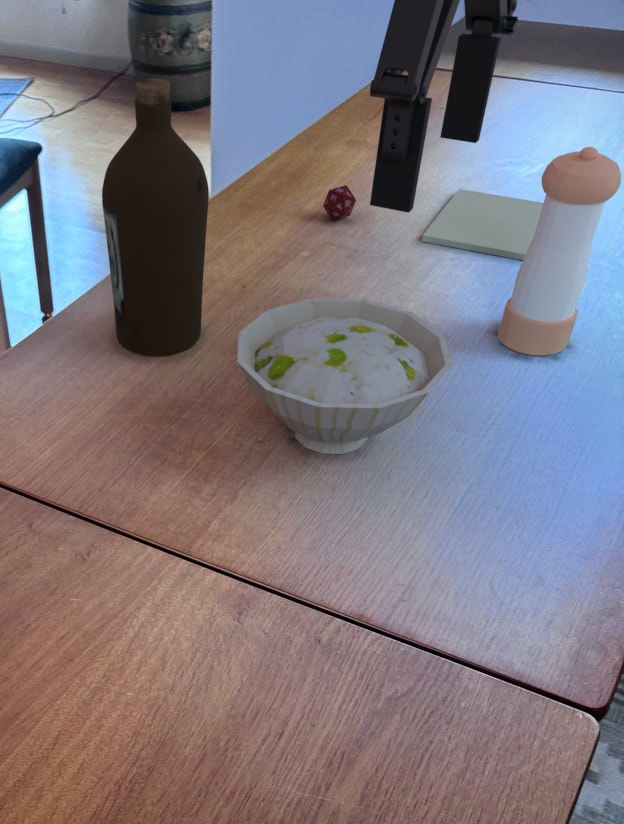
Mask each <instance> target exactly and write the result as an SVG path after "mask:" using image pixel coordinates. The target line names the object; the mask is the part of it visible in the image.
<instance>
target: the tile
mask: <svg viewBox="0 0 624 824" xmlns="http://www.w3.org/2000/svg"><path fill="white" fill-rule="evenodd" d="M543 203H544V202H542V201H535V200H529V199H522V198H517V197H512V196H511V197H510V196H505V195H498V194H493V193H486V192H481V191H474V190H468V189H462V188H459V189H458V190H457V191H456V192H455V194H454V195H452V197H451V198H450V200H449V201H448V202H447V203H446V205H445V206H444V207H443V208H442V210H441V211H440V212H439V214H438V215H437V217H436V218H435V219H434V220H433V221H432V223H431V224H430V225H429V227H427V229H426V231H425V232H423V234H422V238H421V242H422V243H423V242H424V243H430V244H434V245H439V246H445V247H450V248H455V249H461V250H464V251H465V250H466V251H471V252H477V253H482V254H487V255H493V256H498V257H503V258H508V259H514V260H517V261H519V260H520V261H523V259H524V257H525V255H526V253H527V250H528V248H529V246H530V244H531V241H532V239H533V237H534V234H535V231H536V228H537V224H538V221H539V217H540V214H541V210H542V207H543Z"/></svg>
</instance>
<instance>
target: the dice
mask: <svg viewBox="0 0 624 824" xmlns="http://www.w3.org/2000/svg"><path fill="white" fill-rule="evenodd" d="M356 202H357V198H356V197H355V196H354V195H353V193H352V191H351V189H350V188H349V186H348V185H347V184H345V185H341V186H338V187H335V188H332V189H329V190H328V192H327V195H326V197H325V199H324V202H323V205H322V207H323V209H324V210H325V212H326V213H327V215H328V216H329V218H330V220H331V221H332V222H334V221H337V220H341V219H344V218H348V217H350V216H351V214H352V211H353V209H354V207H355V204H356Z"/></svg>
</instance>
